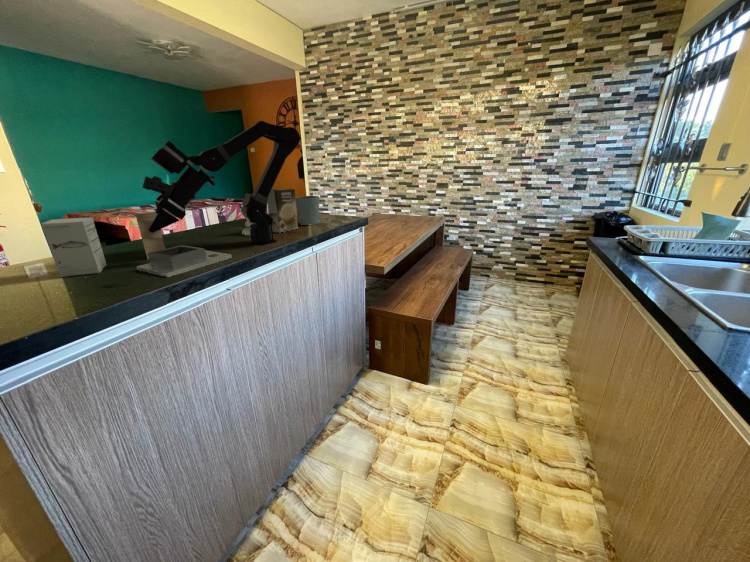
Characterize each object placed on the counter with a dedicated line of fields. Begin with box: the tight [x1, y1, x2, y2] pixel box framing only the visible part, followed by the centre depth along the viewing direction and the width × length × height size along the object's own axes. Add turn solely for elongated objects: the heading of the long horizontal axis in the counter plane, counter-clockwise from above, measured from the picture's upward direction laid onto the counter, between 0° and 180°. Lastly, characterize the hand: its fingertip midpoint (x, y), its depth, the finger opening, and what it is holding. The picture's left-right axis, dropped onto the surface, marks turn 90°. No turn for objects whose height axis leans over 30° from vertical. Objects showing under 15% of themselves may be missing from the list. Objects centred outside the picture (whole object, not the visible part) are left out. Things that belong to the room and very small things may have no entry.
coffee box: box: [267, 188, 299, 234], centre depth 121 cm, size 9×6×16 cm
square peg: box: [135, 212, 166, 260], centre depth 86 cm, size 5×5×12 cm
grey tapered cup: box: [295, 195, 320, 225], centre depth 135 cm, size 10×10×12 cm
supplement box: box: [41, 217, 107, 278], centre depth 73 cm, size 7×7×13 cm
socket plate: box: [135, 244, 232, 278], centre depth 80 cm, size 18×12×4 cm, turn 155°
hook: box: [239, 208, 253, 236], centre depth 116 cm, size 8×12×7 cm
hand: (150, 229), depth 85 cm, fingers open, 9 cm apart
